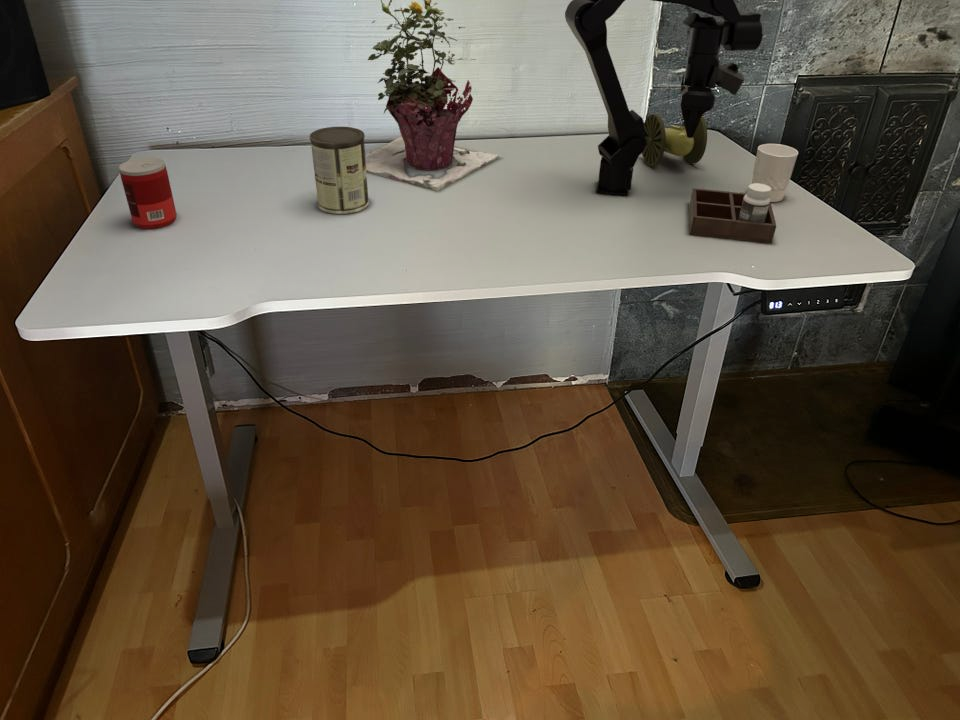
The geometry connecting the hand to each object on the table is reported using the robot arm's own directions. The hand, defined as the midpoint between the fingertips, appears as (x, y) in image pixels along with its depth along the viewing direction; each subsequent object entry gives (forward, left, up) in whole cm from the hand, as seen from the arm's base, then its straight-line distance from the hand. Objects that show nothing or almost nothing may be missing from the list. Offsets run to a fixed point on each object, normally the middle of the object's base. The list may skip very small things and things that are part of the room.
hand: (689, 130), depth 155 cm
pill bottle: (+13, -21, -11) cm, 27 cm away
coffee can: (-66, -29, -12) cm, 73 cm away
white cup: (+18, -1, -12) cm, 22 cm away
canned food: (-97, -46, -12) cm, 108 cm away
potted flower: (-58, -1, -12) cm, 59 cm away
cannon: (-5, +19, -12) cm, 23 cm away
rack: (+9, -18, -12) cm, 23 cm away
